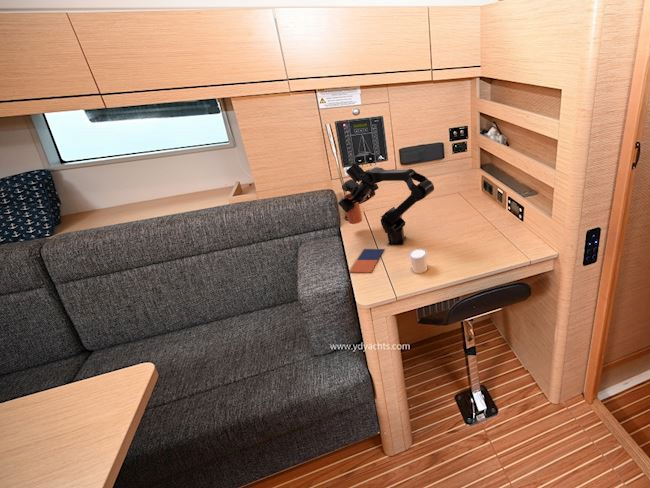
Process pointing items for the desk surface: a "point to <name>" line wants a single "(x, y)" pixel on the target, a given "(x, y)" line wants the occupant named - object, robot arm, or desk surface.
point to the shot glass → (418, 260)
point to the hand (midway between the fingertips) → (350, 207)
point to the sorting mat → (366, 261)
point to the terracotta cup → (354, 212)
